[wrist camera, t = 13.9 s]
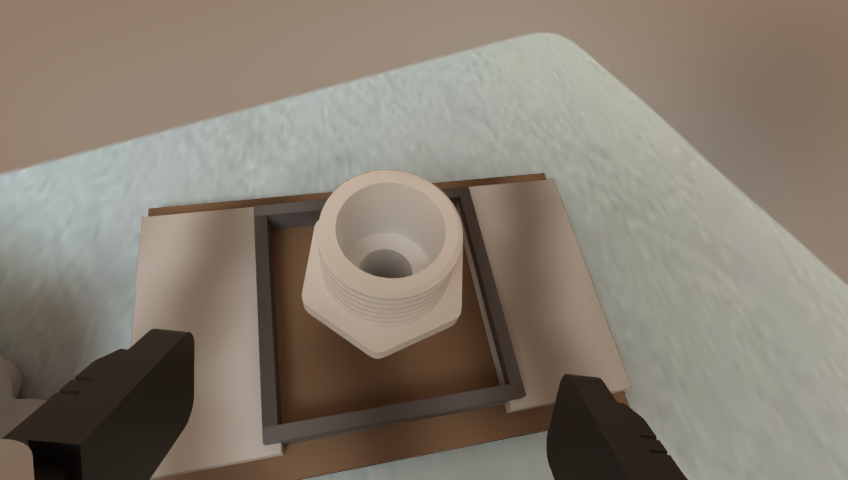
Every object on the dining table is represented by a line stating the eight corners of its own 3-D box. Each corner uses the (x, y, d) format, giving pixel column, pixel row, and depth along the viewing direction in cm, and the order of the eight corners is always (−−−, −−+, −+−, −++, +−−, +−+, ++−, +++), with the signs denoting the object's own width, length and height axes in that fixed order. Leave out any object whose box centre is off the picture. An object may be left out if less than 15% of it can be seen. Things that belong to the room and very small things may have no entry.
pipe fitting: (288, 280, 25) (262, 190, 18) (416, 232, 27) (438, 134, 20) (337, 399, 22) (329, 349, 15) (473, 335, 24) (521, 265, 17)
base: (538, 182, 31) (552, 157, 29) (621, 415, 24) (647, 406, 22) (155, 218, 26) (137, 192, 24) (136, 512, 20) (110, 512, 18)
